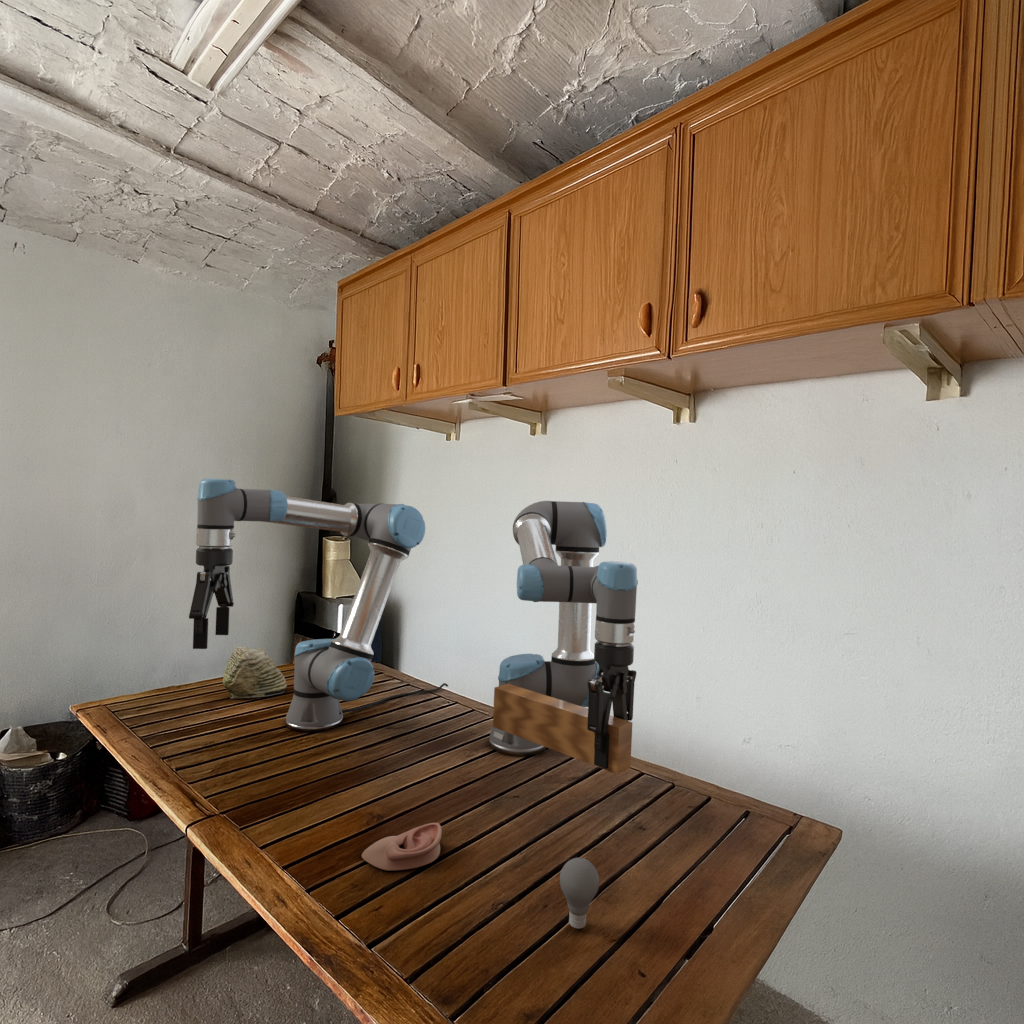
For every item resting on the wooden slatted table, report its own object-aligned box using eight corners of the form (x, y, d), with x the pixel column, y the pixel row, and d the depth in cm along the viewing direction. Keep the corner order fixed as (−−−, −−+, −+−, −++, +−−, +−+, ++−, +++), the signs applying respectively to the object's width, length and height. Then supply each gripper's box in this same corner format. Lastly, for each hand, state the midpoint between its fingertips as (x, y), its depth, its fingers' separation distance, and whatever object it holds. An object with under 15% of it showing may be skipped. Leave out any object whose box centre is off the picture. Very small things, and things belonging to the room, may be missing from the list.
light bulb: (554, 912, 99) (557, 849, 99) (592, 912, 99) (595, 849, 99) (560, 939, 93) (564, 872, 93) (601, 939, 94) (604, 872, 93)
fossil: (218, 695, 195) (220, 647, 195) (278, 685, 208) (279, 640, 207) (228, 703, 189) (230, 653, 188) (289, 692, 201) (290, 645, 201)
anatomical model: (354, 842, 109) (381, 811, 120) (353, 865, 109) (380, 831, 121) (427, 854, 107) (448, 821, 118) (426, 877, 107) (447, 842, 118)
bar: (492, 726, 141) (494, 687, 141) (506, 722, 144) (508, 683, 144) (617, 774, 118) (619, 727, 118) (630, 767, 122) (632, 722, 122)
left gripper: (212, 552, 130) (208, 655, 131) (249, 543, 155) (245, 630, 155) (173, 551, 129) (170, 654, 130) (217, 542, 154) (213, 629, 155)
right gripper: (604, 652, 113) (598, 782, 113) (655, 639, 126) (649, 756, 126) (570, 645, 118) (565, 769, 118) (623, 633, 131) (618, 745, 131)
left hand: (211, 641), depth 143 cm, fingers open, 13 cm apart
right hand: (608, 762), depth 122 cm, fingers closed on bar, 5 cm apart
